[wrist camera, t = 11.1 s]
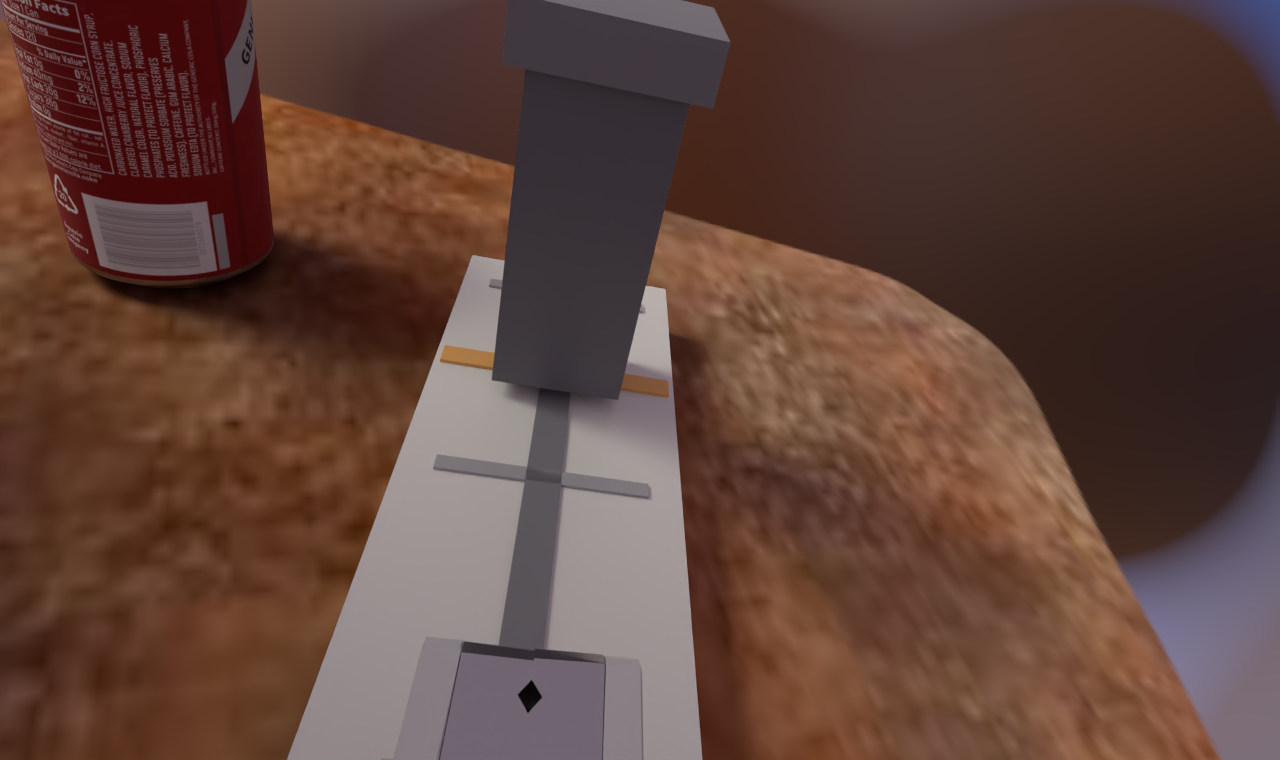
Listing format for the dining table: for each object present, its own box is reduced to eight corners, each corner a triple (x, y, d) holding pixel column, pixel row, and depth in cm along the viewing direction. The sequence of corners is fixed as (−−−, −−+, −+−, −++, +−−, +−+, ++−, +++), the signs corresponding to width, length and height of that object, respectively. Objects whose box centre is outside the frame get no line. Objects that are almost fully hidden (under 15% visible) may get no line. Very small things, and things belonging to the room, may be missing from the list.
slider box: (694, 1078, 13) (727, 1047, 12) (207, 1063, 12) (186, 1026, 11) (655, 328, 32) (666, 286, 31) (469, 297, 31) (472, 252, 30)
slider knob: (633, 412, 23) (729, 41, 17) (472, 387, 22) (508, -8, 16) (632, 341, 26) (714, 8, 20) (492, 317, 26) (528, -35, 19)
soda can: (238, 314, 27) (186, -58, 20) (33, 286, 26) (-97, -118, 19) (298, 232, 32) (274, -84, 25) (130, 206, 31) (57, -131, 24)
